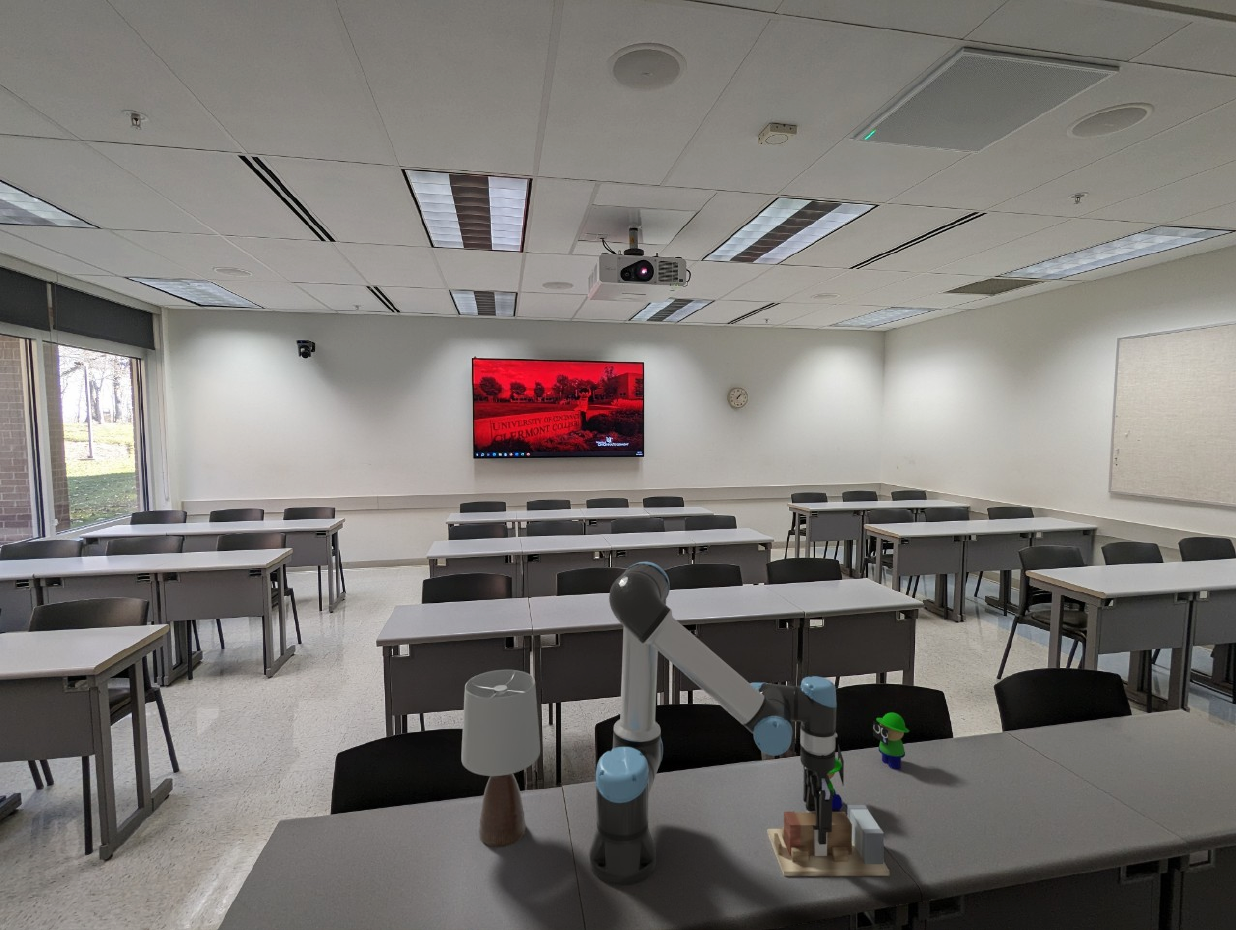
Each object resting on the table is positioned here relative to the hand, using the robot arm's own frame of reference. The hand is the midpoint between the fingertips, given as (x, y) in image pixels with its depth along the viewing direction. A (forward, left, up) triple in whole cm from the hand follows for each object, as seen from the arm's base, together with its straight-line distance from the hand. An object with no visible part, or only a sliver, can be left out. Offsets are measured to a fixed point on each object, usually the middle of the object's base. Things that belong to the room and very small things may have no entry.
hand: (816, 846), depth 136 cm
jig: (+2, 0, -2) cm, 3 cm away
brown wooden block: (0, 0, 0) cm, 0 cm away
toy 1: (+8, +18, -2) cm, 20 cm away
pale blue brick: (+11, 0, 0) cm, 11 cm away
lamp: (-73, +8, -2) cm, 74 cm away
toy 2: (+35, +37, -2) cm, 51 cm away
